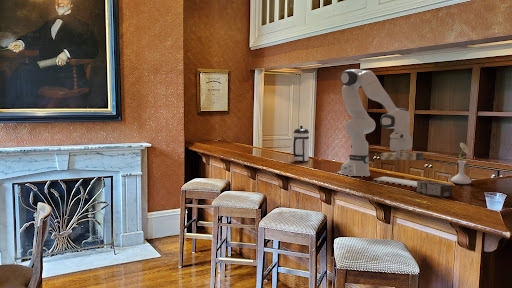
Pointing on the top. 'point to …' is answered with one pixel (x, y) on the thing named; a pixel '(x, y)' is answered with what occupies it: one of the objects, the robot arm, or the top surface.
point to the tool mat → (397, 181)
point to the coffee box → (434, 188)
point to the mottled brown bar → (402, 156)
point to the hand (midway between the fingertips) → (401, 156)
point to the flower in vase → (462, 168)
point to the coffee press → (301, 144)
